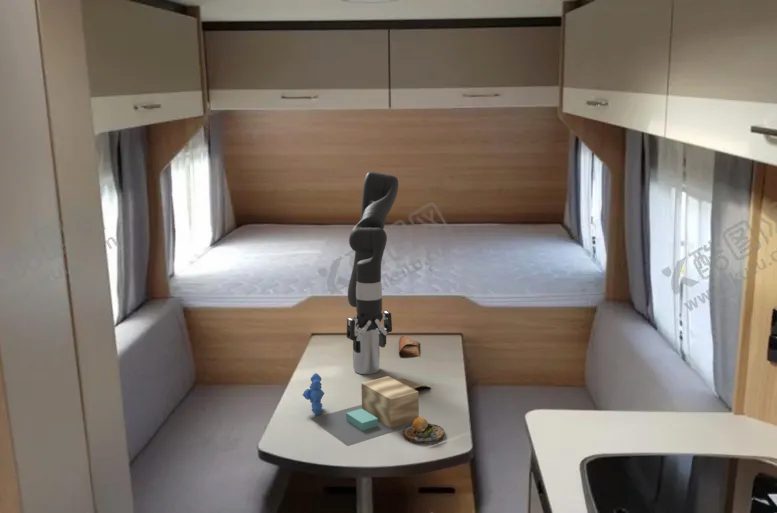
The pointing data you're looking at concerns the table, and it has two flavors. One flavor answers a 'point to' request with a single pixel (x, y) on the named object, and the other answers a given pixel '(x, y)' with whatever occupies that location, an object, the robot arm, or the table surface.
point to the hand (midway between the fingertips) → (369, 349)
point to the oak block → (390, 401)
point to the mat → (351, 427)
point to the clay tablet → (410, 383)
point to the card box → (362, 419)
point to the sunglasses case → (408, 347)
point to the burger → (423, 432)
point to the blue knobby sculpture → (315, 394)
